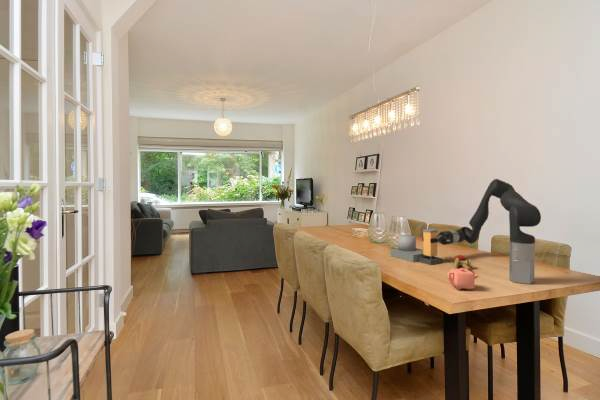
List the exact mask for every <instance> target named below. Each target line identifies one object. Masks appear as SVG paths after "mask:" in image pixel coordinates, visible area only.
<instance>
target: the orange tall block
mask: <svg viewBox="0 0 600 400" xmlns="http://www.w3.org/2000/svg"><path fill="white" fill-rule="evenodd" d="M438 232H439V230H438V229H433V228H426V229H422V233H423V237H422V238H424V241H422V242H423V246H422V247H423V249H422V250H423V255H427V256H434V257H438V243H430V239H433V238H437V235H438Z"/></svg>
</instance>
